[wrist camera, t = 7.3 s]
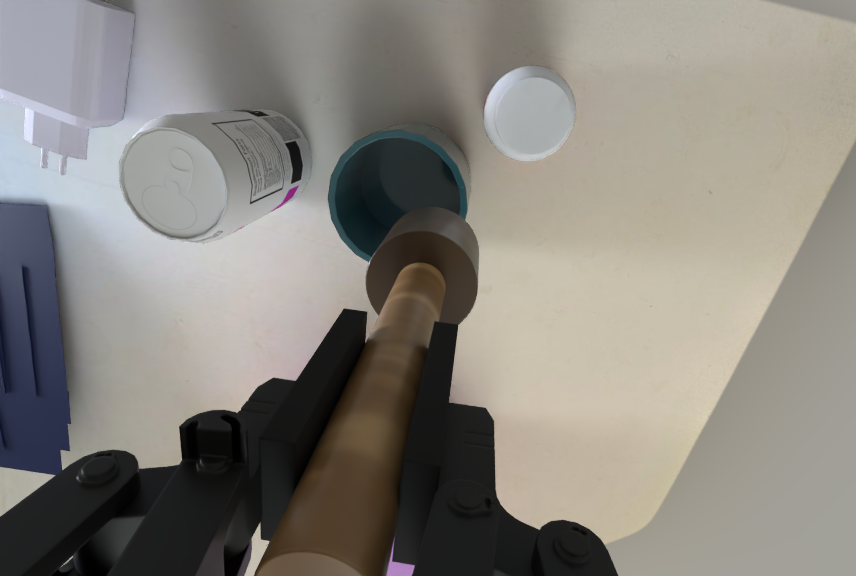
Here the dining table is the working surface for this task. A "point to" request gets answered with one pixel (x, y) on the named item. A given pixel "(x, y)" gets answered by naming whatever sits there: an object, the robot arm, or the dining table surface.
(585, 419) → the dining table surface
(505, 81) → the pill bottle
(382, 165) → the jar
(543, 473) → the dining table surface
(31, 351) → the dark blue flat slab
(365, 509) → the brush
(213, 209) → the supplement can
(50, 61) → the charger
